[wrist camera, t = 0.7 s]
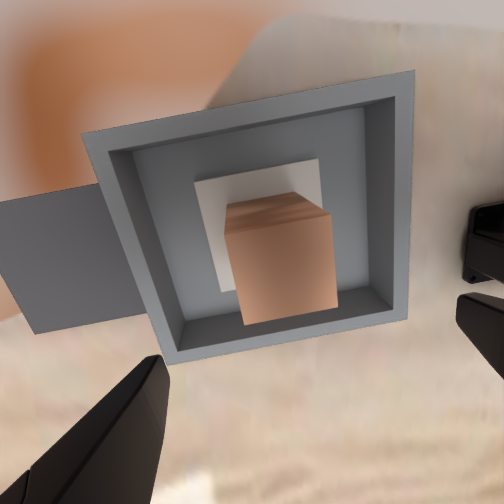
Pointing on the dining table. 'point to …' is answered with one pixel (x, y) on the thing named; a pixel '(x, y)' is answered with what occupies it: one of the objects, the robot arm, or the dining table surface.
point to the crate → (257, 186)
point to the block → (281, 257)
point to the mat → (66, 260)
